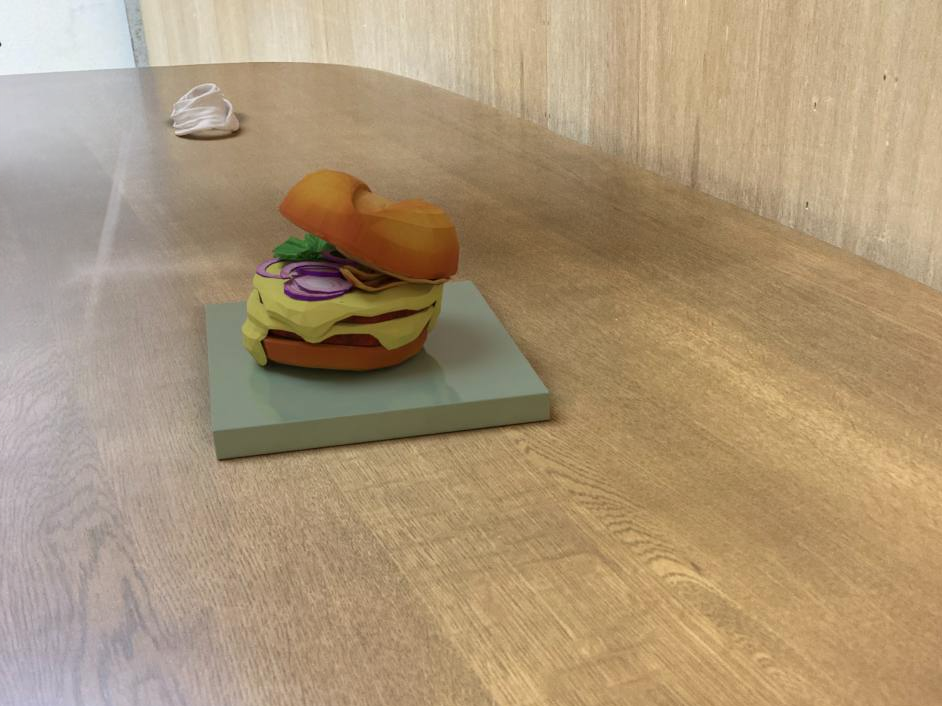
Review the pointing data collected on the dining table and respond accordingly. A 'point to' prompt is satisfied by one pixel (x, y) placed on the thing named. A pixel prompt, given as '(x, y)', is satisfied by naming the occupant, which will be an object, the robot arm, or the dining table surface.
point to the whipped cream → (203, 111)
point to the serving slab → (371, 386)
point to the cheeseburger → (350, 278)
